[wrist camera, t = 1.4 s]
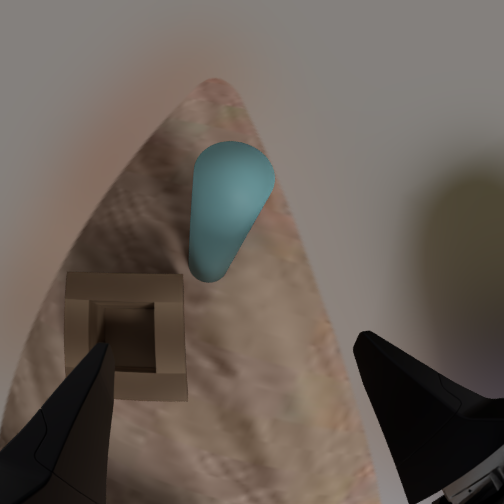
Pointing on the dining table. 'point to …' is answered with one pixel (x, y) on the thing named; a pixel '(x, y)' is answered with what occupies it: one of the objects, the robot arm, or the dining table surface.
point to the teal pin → (225, 204)
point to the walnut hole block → (130, 330)
